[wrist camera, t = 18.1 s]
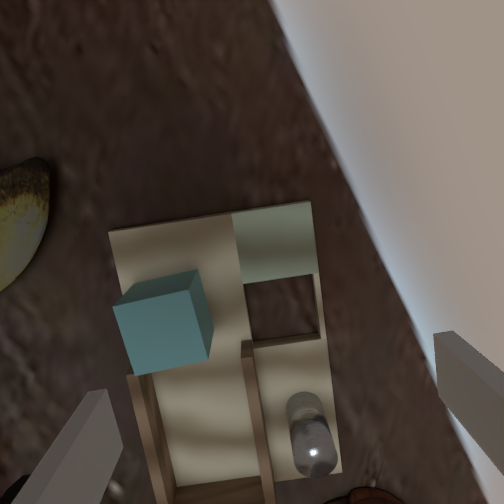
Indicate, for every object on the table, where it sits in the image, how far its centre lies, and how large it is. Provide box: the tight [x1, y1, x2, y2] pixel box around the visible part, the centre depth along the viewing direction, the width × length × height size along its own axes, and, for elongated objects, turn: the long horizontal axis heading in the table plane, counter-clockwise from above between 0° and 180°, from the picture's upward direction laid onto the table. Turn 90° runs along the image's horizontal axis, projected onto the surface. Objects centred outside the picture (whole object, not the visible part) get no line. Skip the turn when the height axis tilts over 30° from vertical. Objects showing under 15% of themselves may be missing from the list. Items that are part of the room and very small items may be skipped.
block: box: [113, 269, 214, 376], centre depth 34 cm, size 6×6×6 cm
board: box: [108, 200, 342, 487], centre depth 39 cm, size 28×18×2 cm, turn 9°
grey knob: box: [286, 392, 338, 478], centre depth 36 cm, size 4×4×7 cm
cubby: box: [126, 339, 277, 504], centre depth 38 cm, size 16×11×4 cm
